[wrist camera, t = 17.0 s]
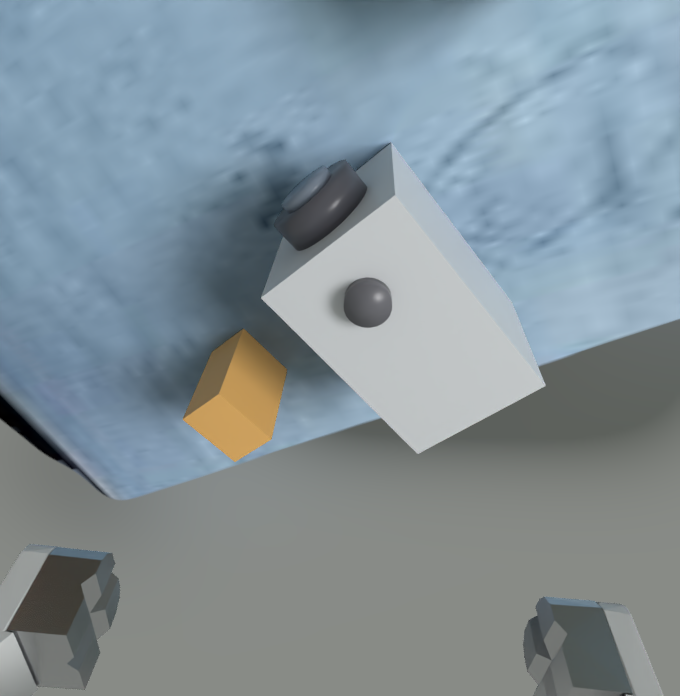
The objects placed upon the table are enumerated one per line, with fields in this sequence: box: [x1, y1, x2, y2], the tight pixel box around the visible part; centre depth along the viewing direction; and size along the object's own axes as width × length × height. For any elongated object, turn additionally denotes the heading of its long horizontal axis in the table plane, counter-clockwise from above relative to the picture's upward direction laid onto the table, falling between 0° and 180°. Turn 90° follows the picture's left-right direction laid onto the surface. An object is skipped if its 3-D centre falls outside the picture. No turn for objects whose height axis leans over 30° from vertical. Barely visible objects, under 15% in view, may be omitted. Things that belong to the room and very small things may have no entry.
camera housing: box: [261, 143, 545, 454], centre depth 39 cm, size 10×19×12 cm, turn 40°
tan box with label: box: [183, 328, 287, 462], centre depth 47 cm, size 4×6×9 cm
